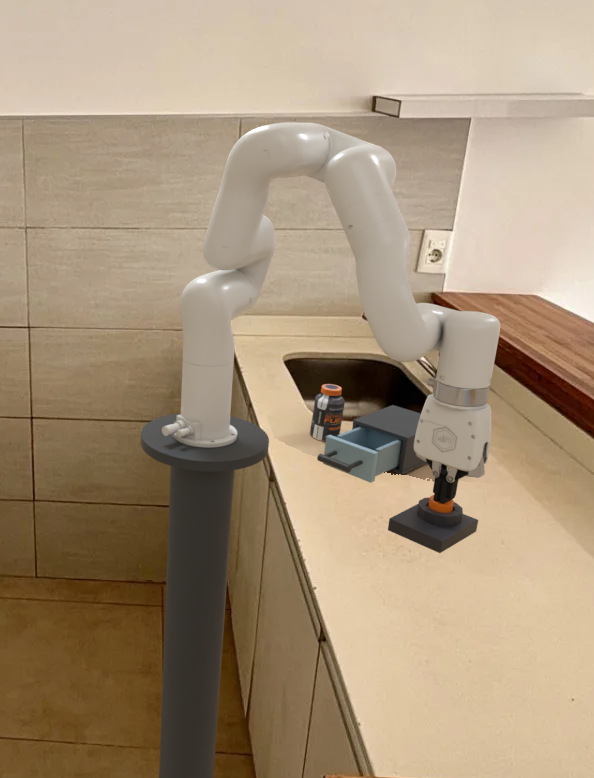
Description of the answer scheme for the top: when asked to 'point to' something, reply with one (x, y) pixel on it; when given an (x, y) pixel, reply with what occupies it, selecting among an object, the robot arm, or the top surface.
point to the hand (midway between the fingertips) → (443, 499)
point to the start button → (440, 505)
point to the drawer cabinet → (396, 432)
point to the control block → (433, 526)
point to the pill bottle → (327, 412)
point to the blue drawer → (362, 453)
